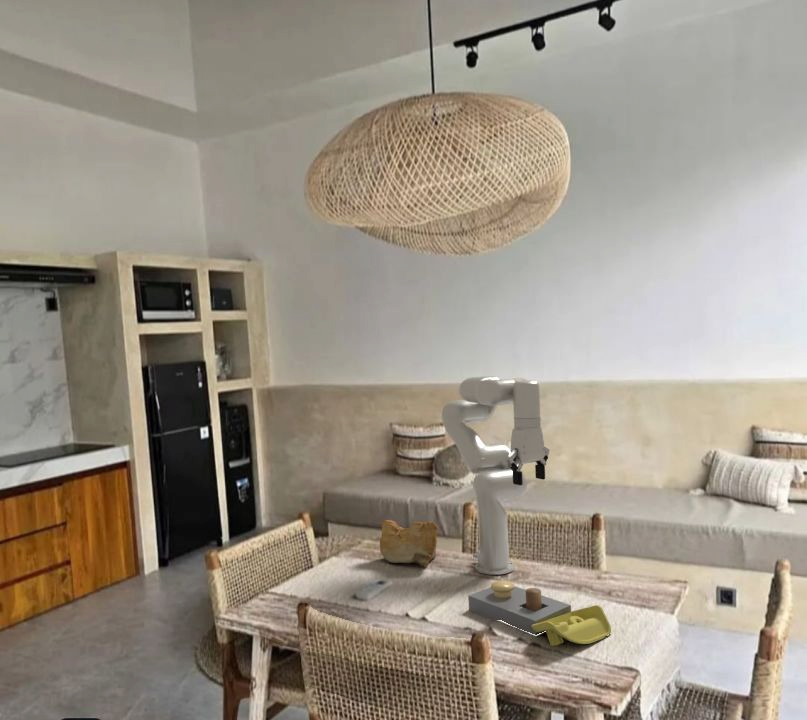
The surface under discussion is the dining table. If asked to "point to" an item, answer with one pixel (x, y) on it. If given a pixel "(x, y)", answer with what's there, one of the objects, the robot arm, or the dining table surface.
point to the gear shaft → (533, 599)
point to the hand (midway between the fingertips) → (529, 481)
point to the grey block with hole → (514, 606)
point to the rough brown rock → (409, 542)
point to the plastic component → (576, 626)
